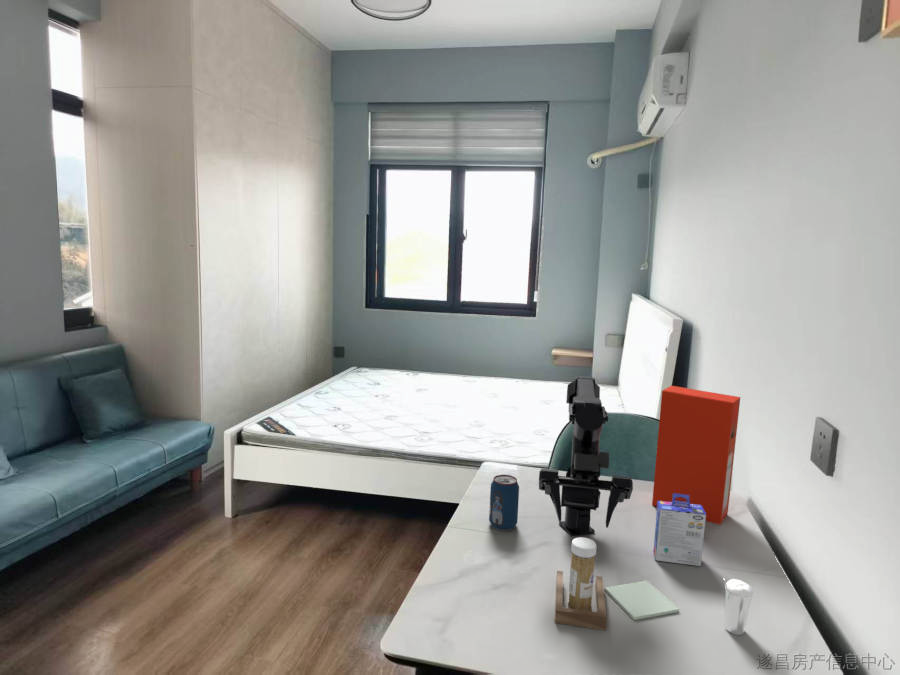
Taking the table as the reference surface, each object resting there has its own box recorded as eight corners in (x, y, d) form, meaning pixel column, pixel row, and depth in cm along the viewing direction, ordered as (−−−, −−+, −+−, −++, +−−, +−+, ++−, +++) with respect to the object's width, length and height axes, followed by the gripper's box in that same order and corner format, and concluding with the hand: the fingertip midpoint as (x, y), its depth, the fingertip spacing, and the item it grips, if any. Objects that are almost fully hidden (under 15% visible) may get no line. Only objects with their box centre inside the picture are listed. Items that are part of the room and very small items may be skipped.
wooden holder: (556, 581, 121) (557, 570, 121) (601, 588, 120) (602, 576, 119) (554, 622, 108) (555, 610, 108) (605, 630, 106) (606, 617, 106)
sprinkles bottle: (590, 617, 110) (595, 550, 108) (565, 612, 111) (570, 545, 109) (592, 603, 114) (597, 538, 112) (568, 599, 116) (573, 534, 114)
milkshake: (711, 621, 110) (717, 572, 108) (738, 621, 110) (744, 571, 109) (724, 637, 105) (730, 586, 104) (753, 637, 106) (759, 585, 104)
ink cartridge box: (697, 554, 134) (703, 494, 132) (702, 567, 129) (709, 504, 127) (651, 549, 136) (657, 489, 134) (655, 561, 131) (660, 499, 129)
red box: (719, 525, 149) (733, 402, 144) (651, 505, 160) (662, 390, 155) (727, 515, 156) (740, 396, 151) (661, 496, 166) (671, 385, 161)
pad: (604, 590, 119) (604, 587, 119) (646, 583, 122) (646, 580, 122) (634, 620, 110) (634, 617, 109) (678, 611, 113) (679, 608, 113)
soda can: (516, 519, 149) (518, 474, 147) (518, 532, 142) (520, 485, 140) (488, 518, 149) (490, 473, 147) (489, 531, 142) (491, 484, 140)
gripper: (541, 431, 122) (536, 504, 113) (635, 439, 119) (637, 515, 110) (541, 454, 131) (536, 524, 122) (628, 462, 128) (629, 534, 119)
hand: (583, 524), depth 118 cm, fingers open, 9 cm apart
